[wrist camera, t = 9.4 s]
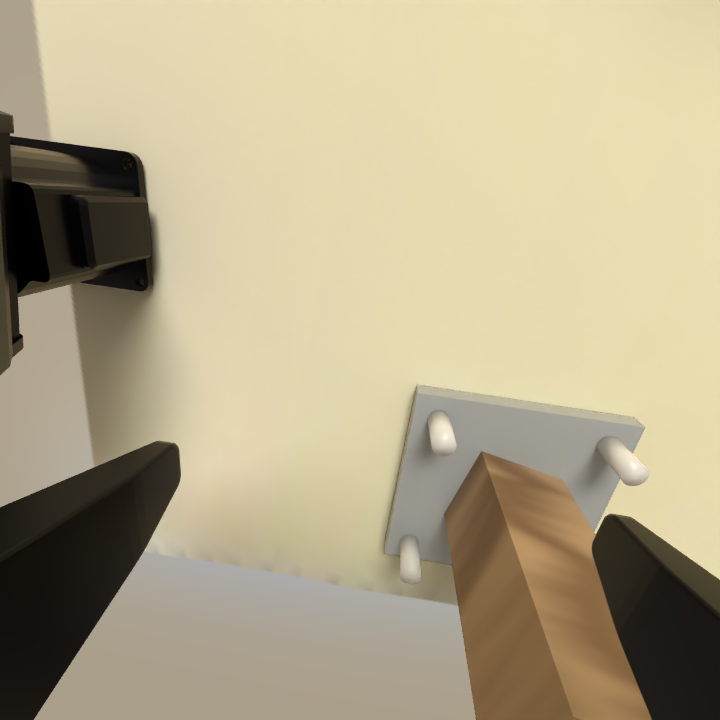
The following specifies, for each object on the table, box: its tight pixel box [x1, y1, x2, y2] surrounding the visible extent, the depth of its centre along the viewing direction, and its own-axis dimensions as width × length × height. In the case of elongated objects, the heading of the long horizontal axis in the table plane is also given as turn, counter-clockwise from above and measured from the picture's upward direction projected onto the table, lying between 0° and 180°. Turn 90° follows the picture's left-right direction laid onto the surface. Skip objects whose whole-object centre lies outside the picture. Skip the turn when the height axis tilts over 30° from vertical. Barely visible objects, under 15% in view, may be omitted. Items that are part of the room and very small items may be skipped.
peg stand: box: [385, 385, 649, 584], centre depth 22 cm, size 12×12×4 cm
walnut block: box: [444, 451, 652, 720], centre depth 17 cm, size 5×5×12 cm
